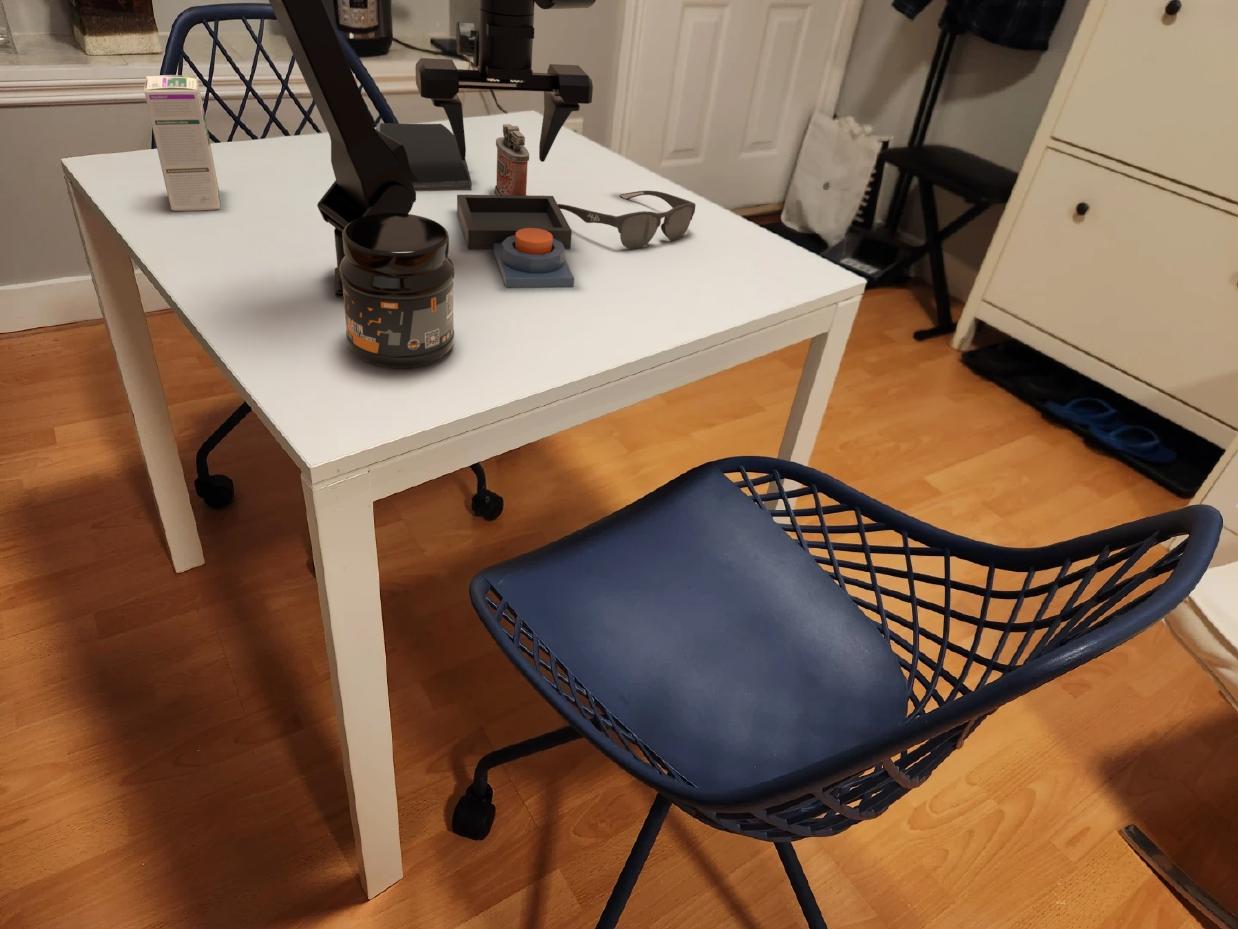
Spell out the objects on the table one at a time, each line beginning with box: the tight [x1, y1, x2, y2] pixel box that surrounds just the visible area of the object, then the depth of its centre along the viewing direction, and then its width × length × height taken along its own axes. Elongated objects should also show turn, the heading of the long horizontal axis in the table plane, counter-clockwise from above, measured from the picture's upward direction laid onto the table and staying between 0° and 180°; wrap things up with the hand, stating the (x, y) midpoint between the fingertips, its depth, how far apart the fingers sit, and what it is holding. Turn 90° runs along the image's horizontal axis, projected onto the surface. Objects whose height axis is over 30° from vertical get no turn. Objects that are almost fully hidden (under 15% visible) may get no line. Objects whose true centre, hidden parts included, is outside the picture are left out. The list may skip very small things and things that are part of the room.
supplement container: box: [340, 213, 456, 369], centre depth 83 cm, size 10×10×12 cm
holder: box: [456, 194, 573, 250], centre depth 112 cm, size 12×13×2 cm
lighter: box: [494, 123, 530, 195], centre depth 118 cm, size 8×3×10 cm, turn 25°
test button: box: [515, 228, 553, 255], centre depth 102 cm, size 4×4×2 cm
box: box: [492, 235, 575, 289], centre depth 103 cm, size 10×8×3 cm
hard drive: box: [375, 122, 473, 188], centre depth 127 cm, size 13×19×4 cm
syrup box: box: [143, 74, 221, 212], centre depth 105 cm, size 6×6×14 cm
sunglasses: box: [557, 190, 696, 250], centre depth 118 cm, size 16×17×5 cm
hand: (502, 159), depth 100 cm, fingers open, 9 cm apart
